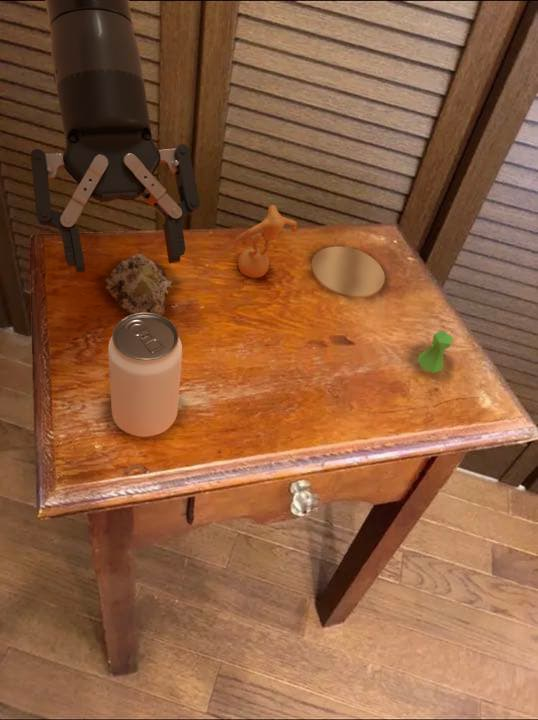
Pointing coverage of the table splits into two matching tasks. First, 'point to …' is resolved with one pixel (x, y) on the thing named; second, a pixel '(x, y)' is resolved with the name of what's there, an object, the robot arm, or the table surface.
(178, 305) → the table surface
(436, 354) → the game piece
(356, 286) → the ash disc
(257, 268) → the figurine
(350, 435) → the table surface
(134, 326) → the can
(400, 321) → the table surface
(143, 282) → the mineral rock
